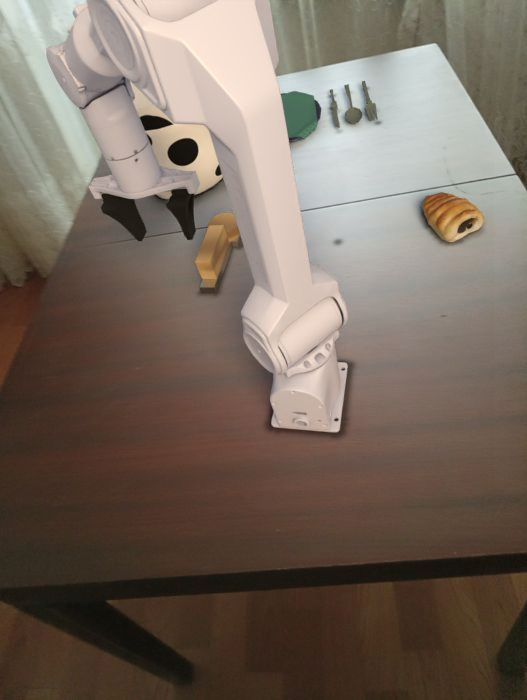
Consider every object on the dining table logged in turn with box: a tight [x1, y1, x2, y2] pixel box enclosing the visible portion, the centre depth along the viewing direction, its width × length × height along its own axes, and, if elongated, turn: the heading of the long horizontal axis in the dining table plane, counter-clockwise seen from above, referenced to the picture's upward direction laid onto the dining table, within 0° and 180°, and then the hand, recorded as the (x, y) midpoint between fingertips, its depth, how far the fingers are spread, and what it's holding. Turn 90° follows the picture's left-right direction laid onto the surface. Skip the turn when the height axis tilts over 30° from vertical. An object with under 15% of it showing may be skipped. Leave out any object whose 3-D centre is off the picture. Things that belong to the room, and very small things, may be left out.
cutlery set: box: [281, 80, 379, 143], centre depth 98 cm, size 20×30×2 cm, turn 90°
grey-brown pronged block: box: [199, 235, 242, 294], centre depth 79 cm, size 17×5×1 cm, turn 168°
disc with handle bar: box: [194, 212, 240, 280], centre depth 77 cm, size 13×5×4 cm, turn 168°
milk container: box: [130, 81, 224, 201], centre depth 87 cm, size 17×17×18 cm
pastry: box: [421, 191, 485, 243], centre depth 72 cm, size 9×7×4 cm
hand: (166, 235), depth 70 cm, fingers open, 7 cm apart
